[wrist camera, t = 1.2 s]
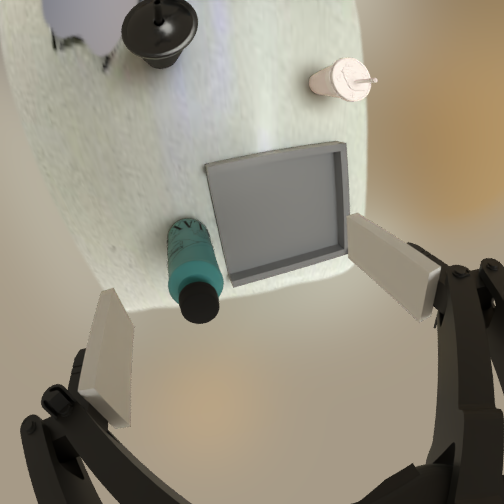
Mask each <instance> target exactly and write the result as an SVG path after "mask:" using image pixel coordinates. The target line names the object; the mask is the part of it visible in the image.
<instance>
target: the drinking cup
mask: <svg viewBox="0 0 504 504" xmlns="http://www.w3.org/2000/svg"><path fill="white" fill-rule="evenodd" d="M197 28H198V18H197V14H196V12H195V10H194V8H193V7H192V6H191V5H190V4H189V3H188V2H186V1H185V0H144V1H142V2H140V3H139V4H137V5H136V6H135V7H133V8H132V9H131V11H130V12H129V13H128V14H127V16H126V17H125V19H124V22H123V25H122V31H121V33H122V39H123V42H124V44H125V45H126V47H127V48H128V49H129V50H130V51H131V52H132V53H133V54H135V55H137V56H139V57H142V58H143V59H144V60H145V61H146V62H147V63H148V64H149V65H151V66H152V67H154V68H158V69H163V68H167V67H169V66H171V65H173V64H174V63H175V62H176V60H177V59H178V57H179V56H180V54H181V52H182V51H183V49H184V48H186V47H187V46H188V45H189V44H190V42H191V41H192V40H193V38H194V36H195V34H196V31H197Z"/></svg>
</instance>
